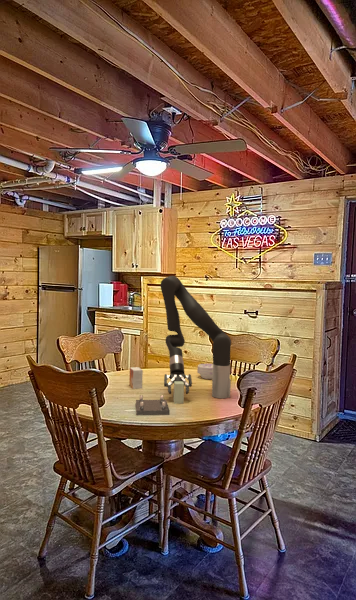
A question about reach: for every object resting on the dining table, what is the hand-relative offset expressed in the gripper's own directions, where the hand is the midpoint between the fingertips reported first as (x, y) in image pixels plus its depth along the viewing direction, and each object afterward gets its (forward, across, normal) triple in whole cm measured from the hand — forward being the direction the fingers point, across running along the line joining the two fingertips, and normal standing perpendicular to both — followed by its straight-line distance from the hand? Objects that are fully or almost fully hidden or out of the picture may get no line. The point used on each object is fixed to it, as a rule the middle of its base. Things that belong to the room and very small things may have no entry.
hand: (178, 393), depth 211 cm
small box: (-18, -21, +25) cm, 38 cm away
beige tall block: (+3, 0, +4) cm, 5 cm away
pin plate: (+11, -14, -4) cm, 18 cm away
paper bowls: (-34, +26, +41) cm, 59 cm away
